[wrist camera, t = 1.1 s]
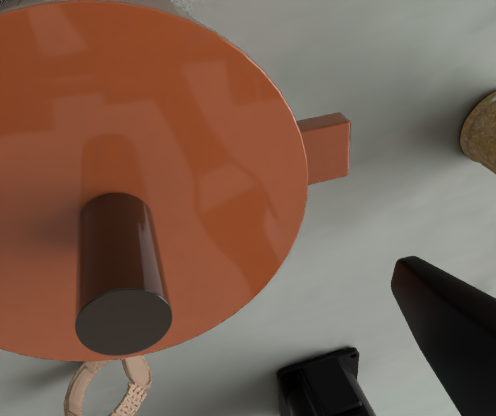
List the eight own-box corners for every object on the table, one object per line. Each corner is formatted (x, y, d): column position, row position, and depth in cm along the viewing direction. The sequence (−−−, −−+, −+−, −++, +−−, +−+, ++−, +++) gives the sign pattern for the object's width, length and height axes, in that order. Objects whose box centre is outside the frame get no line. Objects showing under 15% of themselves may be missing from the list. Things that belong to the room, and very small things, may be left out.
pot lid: (301, 290, 21) (358, 396, 17) (-11, 377, 19) (-41, 527, 14) (292, -41, 13) (394, -6, 9) (-249, 37, 11) (-478, 137, 6)
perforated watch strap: (148, 343, 29) (157, 415, 25) (86, 382, 29) (86, 459, 25) (121, 322, 27) (126, 395, 23) (55, 363, 28) (50, 442, 24)
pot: (299, 202, 26) (351, 279, 21) (-42, 285, 23) (-79, 399, 18) (292, -52, 19) (370, -29, 14) (-211, 19, 16) (-360, 83, 10)
